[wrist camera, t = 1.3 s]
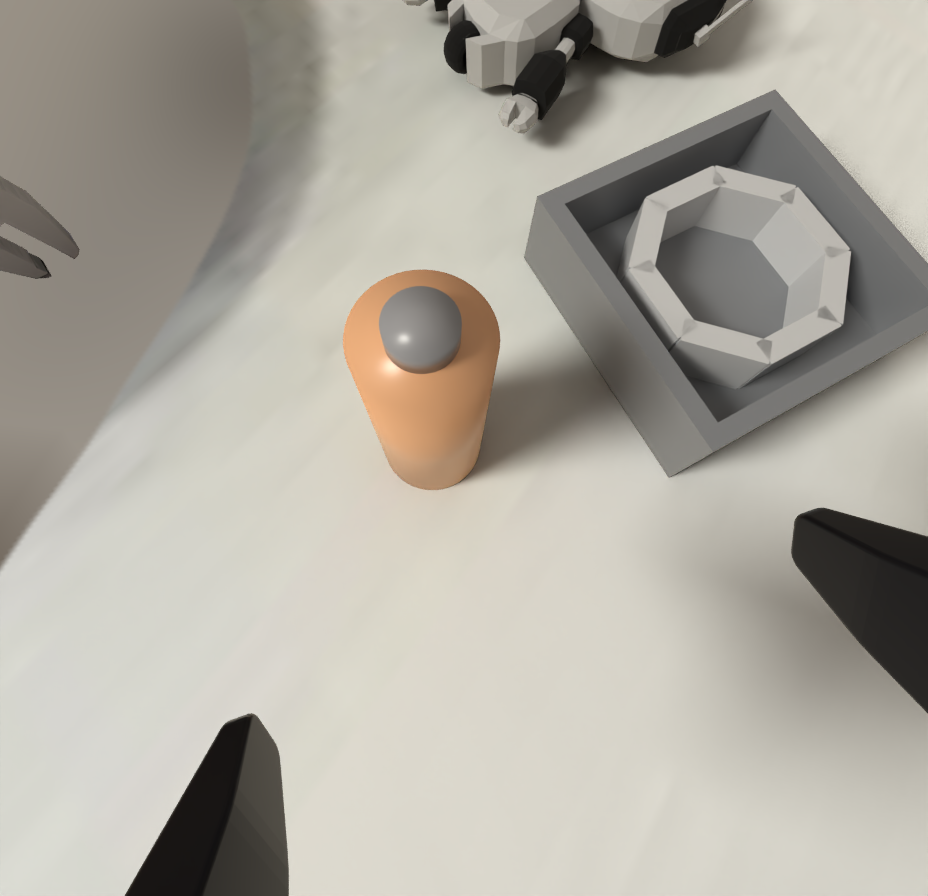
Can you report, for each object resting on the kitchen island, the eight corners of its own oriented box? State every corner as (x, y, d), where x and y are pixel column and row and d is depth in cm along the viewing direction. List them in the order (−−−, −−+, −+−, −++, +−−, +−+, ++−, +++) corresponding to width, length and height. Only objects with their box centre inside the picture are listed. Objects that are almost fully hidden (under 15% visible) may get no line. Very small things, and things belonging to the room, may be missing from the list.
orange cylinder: (497, 462, 23) (533, 353, 13) (411, 507, 22) (383, 429, 13) (451, 383, 24) (453, 227, 14) (369, 425, 23) (310, 291, 13)
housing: (887, 354, 25) (967, 308, 21) (668, 477, 23) (712, 452, 19) (730, 161, 28) (775, 89, 24) (524, 257, 26) (537, 196, 22)
